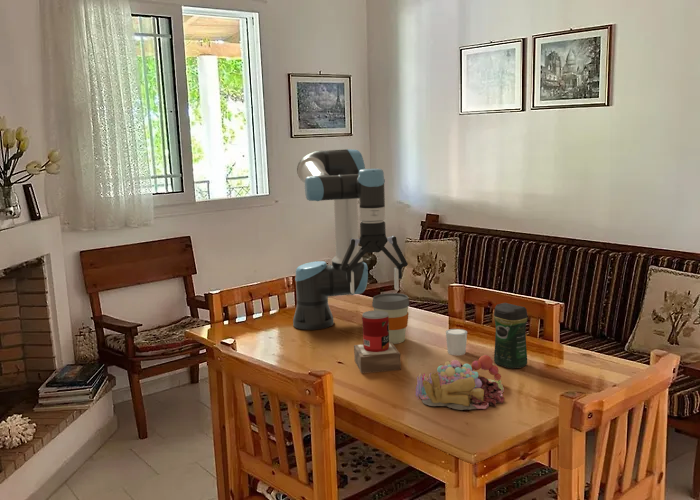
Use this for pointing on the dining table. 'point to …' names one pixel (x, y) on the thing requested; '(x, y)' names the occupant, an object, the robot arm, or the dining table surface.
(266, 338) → the dining table surface
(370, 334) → the canned food
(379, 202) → the robot arm
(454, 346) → the shot glass
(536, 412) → the dining table surface
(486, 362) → the candy landscape model
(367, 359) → the base
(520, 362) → the coffee jar
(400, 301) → the reusable coffee cup
